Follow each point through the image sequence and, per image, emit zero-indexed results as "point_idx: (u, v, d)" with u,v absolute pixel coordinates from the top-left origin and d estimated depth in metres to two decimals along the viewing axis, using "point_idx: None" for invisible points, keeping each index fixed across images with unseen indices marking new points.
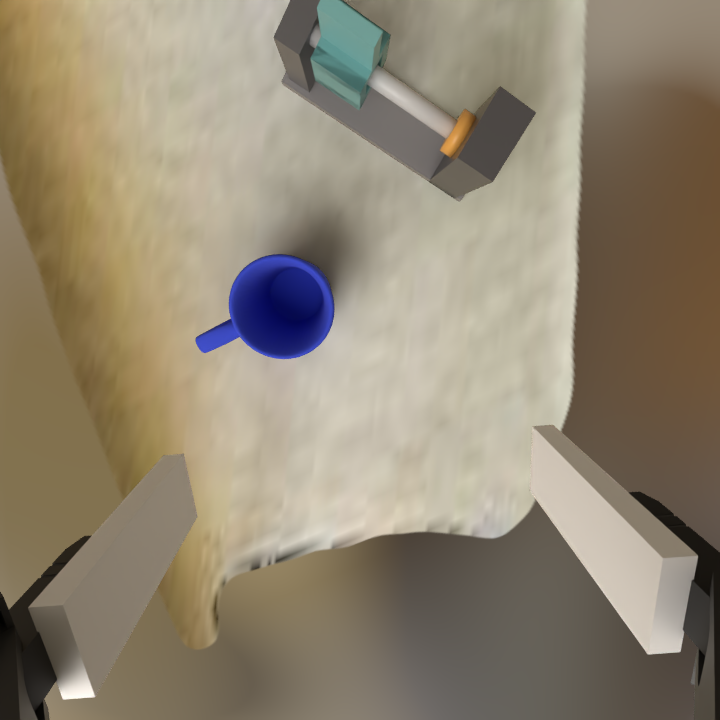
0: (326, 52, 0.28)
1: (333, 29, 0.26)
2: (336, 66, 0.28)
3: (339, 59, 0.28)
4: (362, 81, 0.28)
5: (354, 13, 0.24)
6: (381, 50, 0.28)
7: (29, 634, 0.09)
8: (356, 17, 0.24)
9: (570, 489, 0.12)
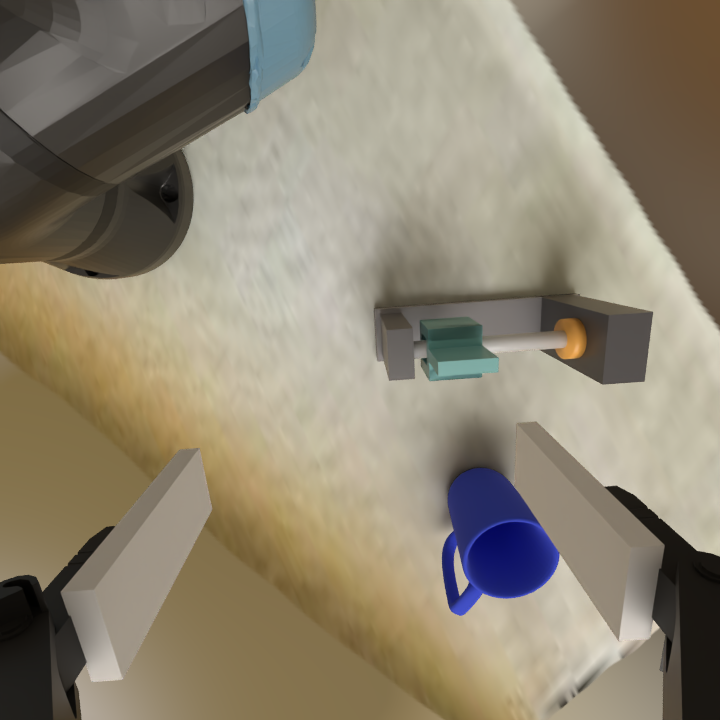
0: None
1: None
2: None
3: None
4: None
5: (469, 361, 0.27)
6: (481, 339, 0.30)
7: (61, 617, 0.09)
8: (472, 362, 0.27)
9: (550, 484, 0.13)
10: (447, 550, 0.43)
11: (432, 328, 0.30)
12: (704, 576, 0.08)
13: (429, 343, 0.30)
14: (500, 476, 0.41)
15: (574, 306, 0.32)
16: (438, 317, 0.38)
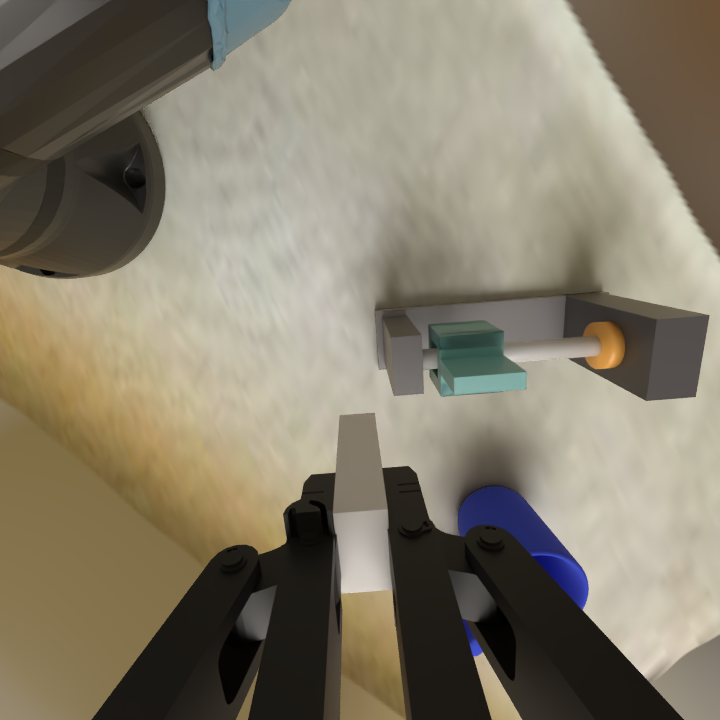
0: None
1: None
2: None
3: None
4: None
5: (491, 376, 0.22)
6: (502, 348, 0.26)
7: None
8: (495, 377, 0.22)
9: None
10: None
11: (445, 335, 0.25)
12: (406, 536, 0.10)
13: (441, 353, 0.26)
14: (517, 496, 0.37)
15: (608, 307, 0.28)
16: (448, 319, 0.33)
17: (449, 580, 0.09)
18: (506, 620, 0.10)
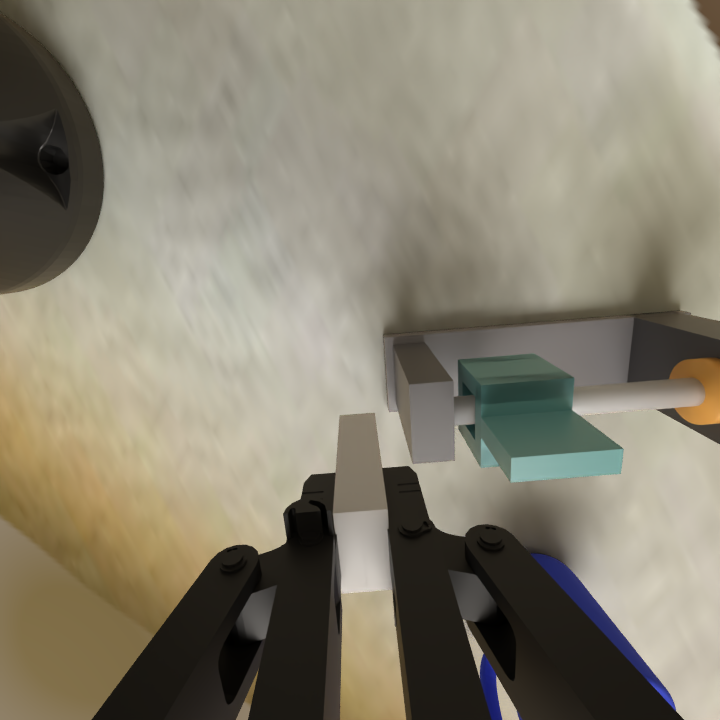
0: None
1: None
2: None
3: None
4: None
5: (569, 455, 0.14)
6: (571, 400, 0.18)
7: None
8: (574, 457, 0.14)
9: None
10: (487, 669, 0.30)
11: (487, 382, 0.18)
12: (406, 536, 0.10)
13: (482, 408, 0.18)
14: (564, 571, 0.29)
15: (713, 338, 0.20)
16: (479, 348, 0.25)
17: (449, 580, 0.09)
18: (506, 620, 0.10)
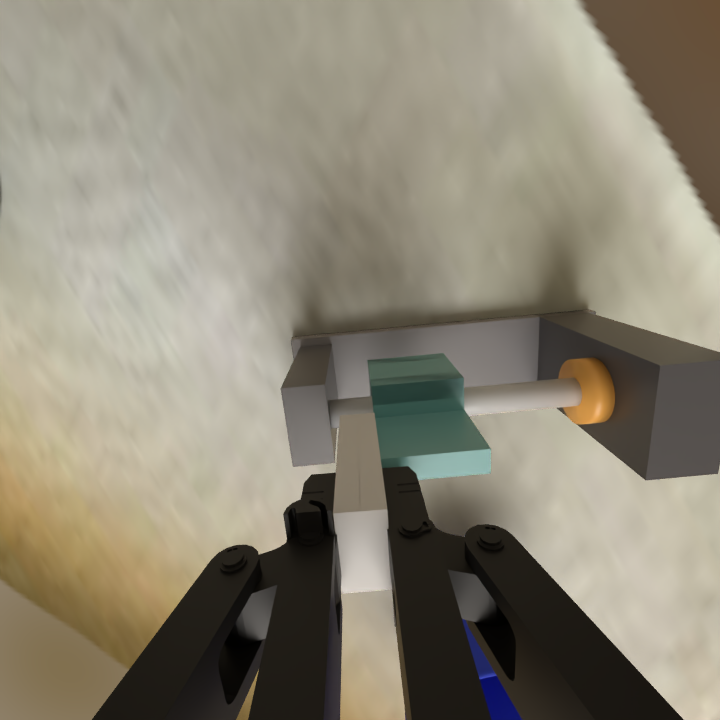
0: None
1: None
2: None
3: None
4: None
5: (437, 456, 0.15)
6: (462, 400, 0.18)
7: None
8: (443, 458, 0.15)
9: None
10: None
11: (379, 383, 0.18)
12: (405, 536, 0.10)
13: (374, 409, 0.18)
14: None
15: (592, 339, 0.20)
16: (386, 349, 0.26)
17: (449, 580, 0.09)
18: (506, 620, 0.10)
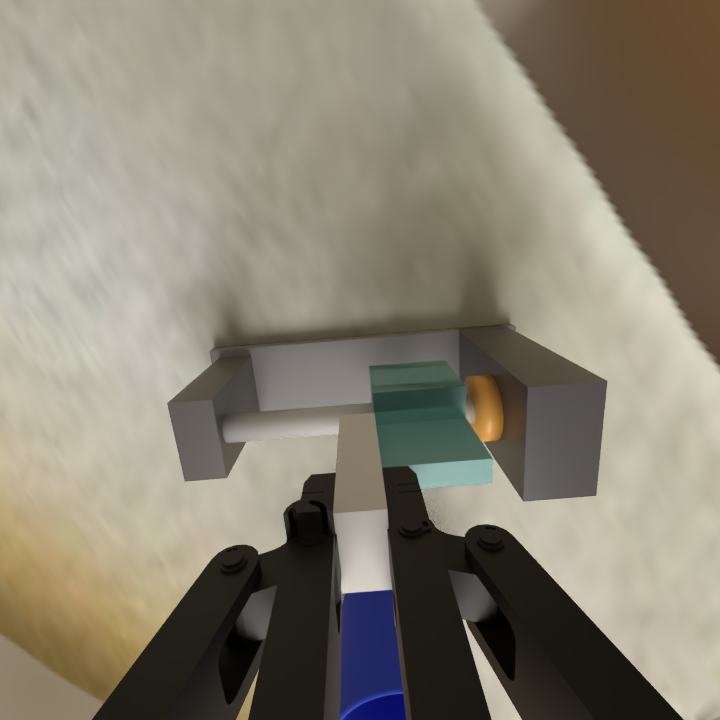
0: None
1: None
2: None
3: None
4: None
5: (439, 465, 0.14)
6: (464, 408, 0.18)
7: None
8: (444, 467, 0.15)
9: None
10: None
11: (380, 390, 0.18)
12: (405, 536, 0.10)
13: (376, 416, 0.18)
14: None
15: (489, 356, 0.20)
16: (306, 361, 0.25)
17: (449, 580, 0.09)
18: (506, 620, 0.10)
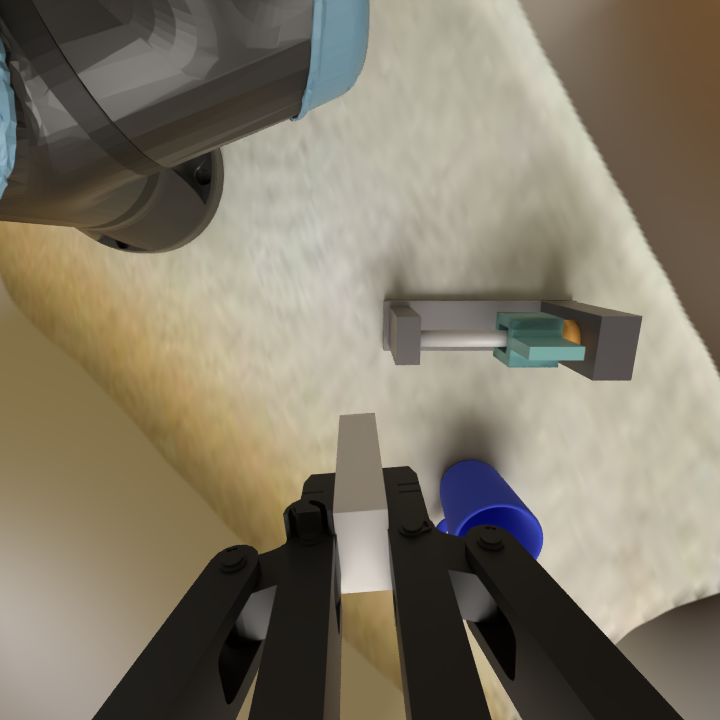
0: (519, 356, 0.33)
1: None
2: (531, 361, 0.33)
3: None
4: None
5: (558, 348, 0.29)
6: (561, 332, 0.33)
7: None
8: (561, 349, 0.29)
9: None
10: None
11: (517, 318, 0.32)
12: (406, 536, 0.10)
13: (513, 332, 0.32)
14: (491, 468, 0.43)
15: (571, 309, 0.35)
16: (443, 313, 0.40)
17: (449, 580, 0.09)
18: (505, 620, 0.10)
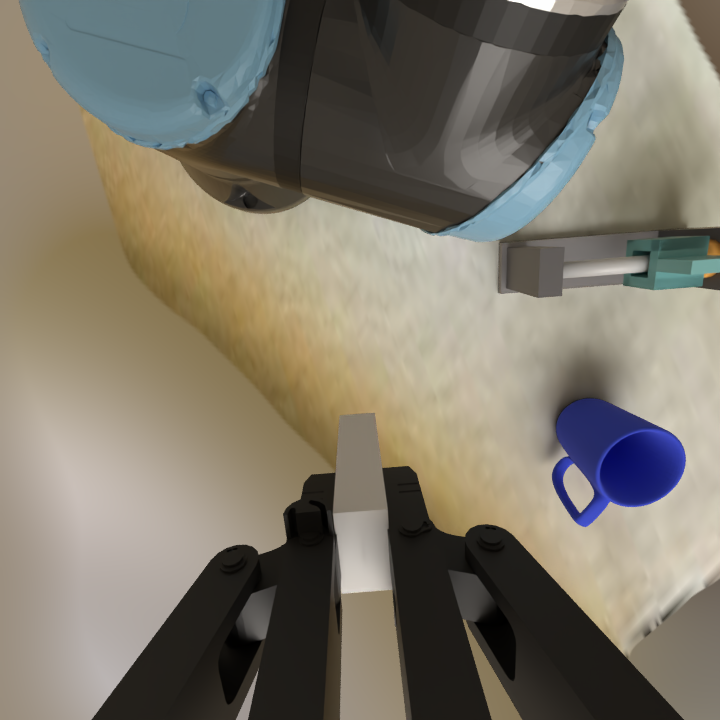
0: (663, 278, 0.33)
1: None
2: (676, 282, 0.33)
3: (676, 276, 0.33)
4: (701, 278, 0.33)
5: None
6: (706, 249, 0.33)
7: None
8: None
9: None
10: (557, 476, 0.45)
11: (662, 239, 0.33)
12: (406, 536, 0.10)
13: (659, 253, 0.33)
14: None
15: (707, 229, 0.35)
16: None
17: (449, 580, 0.09)
18: (505, 620, 0.10)
